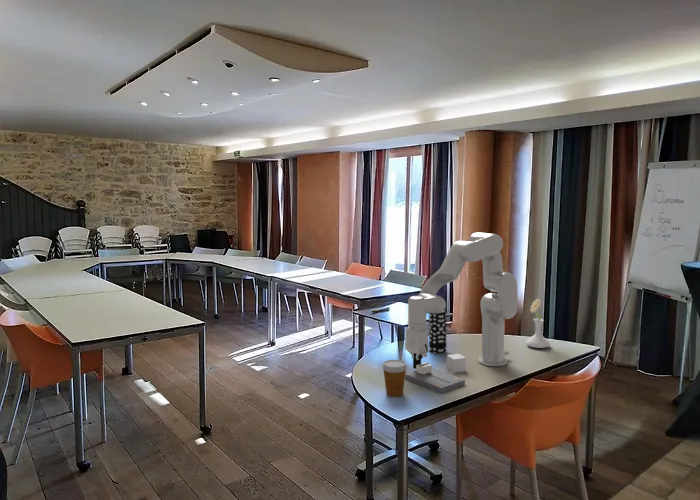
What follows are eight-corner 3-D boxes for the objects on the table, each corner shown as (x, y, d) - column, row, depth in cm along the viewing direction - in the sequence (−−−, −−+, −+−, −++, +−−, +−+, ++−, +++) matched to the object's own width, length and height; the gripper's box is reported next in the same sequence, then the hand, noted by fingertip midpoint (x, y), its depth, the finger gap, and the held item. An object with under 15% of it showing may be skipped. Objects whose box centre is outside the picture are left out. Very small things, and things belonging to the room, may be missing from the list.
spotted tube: (448, 350, 247) (449, 310, 245) (442, 354, 240) (442, 313, 238) (433, 347, 251) (433, 308, 249) (426, 352, 244) (426, 311, 242)
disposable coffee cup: (380, 389, 198) (380, 359, 197) (404, 388, 199) (404, 358, 198) (384, 399, 189) (384, 368, 187) (409, 397, 190) (409, 367, 188)
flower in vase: (525, 342, 258) (527, 294, 256) (549, 344, 254) (551, 295, 252) (525, 349, 246) (526, 299, 243) (550, 352, 242) (552, 301, 239)
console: (428, 371, 218) (428, 366, 218) (464, 384, 202) (464, 379, 202) (404, 378, 209) (404, 373, 209) (440, 393, 194) (440, 387, 193)
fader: (424, 369, 213) (424, 361, 213) (431, 371, 210) (431, 364, 210) (416, 372, 210) (416, 364, 210) (423, 374, 207) (423, 366, 207)
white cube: (465, 371, 218) (466, 357, 217) (453, 372, 216) (453, 359, 215) (458, 366, 223) (459, 353, 223) (446, 368, 222) (446, 355, 221)
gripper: (398, 323, 215) (398, 365, 217) (423, 330, 203) (423, 374, 205) (411, 320, 220) (411, 361, 221) (436, 327, 208) (436, 370, 210)
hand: (417, 367), depth 213 cm, fingers closed
